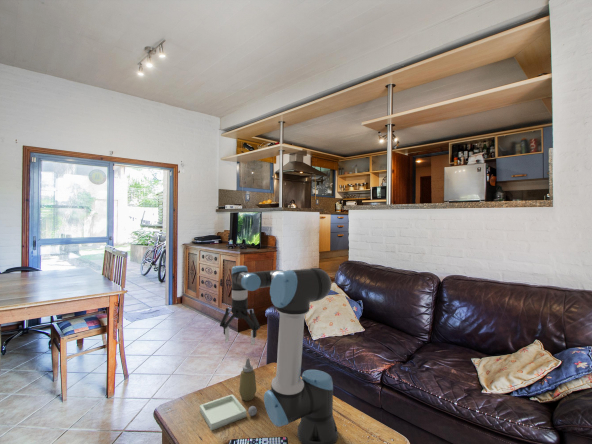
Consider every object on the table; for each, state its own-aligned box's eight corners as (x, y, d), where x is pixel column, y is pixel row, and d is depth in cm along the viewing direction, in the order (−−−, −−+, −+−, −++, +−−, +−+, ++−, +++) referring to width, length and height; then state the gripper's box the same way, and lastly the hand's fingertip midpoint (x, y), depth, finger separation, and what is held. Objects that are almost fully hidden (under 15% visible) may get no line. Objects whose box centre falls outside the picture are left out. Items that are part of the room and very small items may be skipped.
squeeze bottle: (255, 402, 135) (255, 362, 135) (237, 402, 135) (237, 362, 136) (257, 392, 143) (257, 354, 144) (240, 392, 143) (241, 354, 144)
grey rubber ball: (258, 415, 126) (258, 407, 126) (250, 419, 124) (250, 410, 124) (254, 411, 129) (254, 403, 129) (246, 414, 127) (246, 405, 127)
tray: (246, 416, 125) (246, 410, 125) (211, 430, 117) (211, 424, 117) (232, 399, 138) (232, 394, 138) (199, 411, 129) (199, 405, 129)
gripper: (266, 298, 144) (267, 342, 144) (220, 295, 151) (220, 337, 151) (260, 301, 137) (261, 348, 137) (212, 298, 144) (212, 343, 144)
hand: (239, 342), depth 144 cm, fingers open, 13 cm apart
